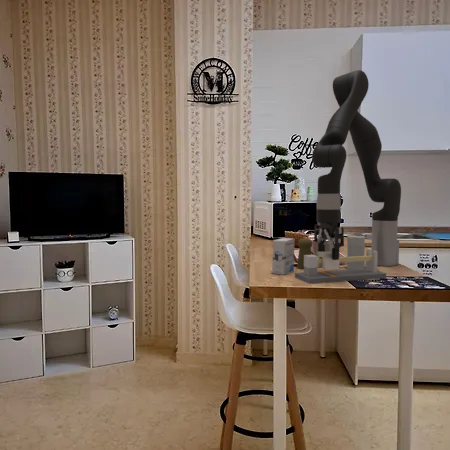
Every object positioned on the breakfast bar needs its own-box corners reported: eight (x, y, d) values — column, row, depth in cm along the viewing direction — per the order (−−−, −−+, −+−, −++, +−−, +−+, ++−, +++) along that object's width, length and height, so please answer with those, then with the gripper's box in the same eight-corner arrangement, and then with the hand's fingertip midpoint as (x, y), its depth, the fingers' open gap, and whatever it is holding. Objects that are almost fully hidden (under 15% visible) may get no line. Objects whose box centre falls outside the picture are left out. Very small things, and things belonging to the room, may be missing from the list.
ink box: (281, 269, 151) (282, 237, 150) (294, 271, 148) (295, 238, 147) (271, 273, 143) (271, 240, 142) (285, 275, 141) (285, 240, 140)
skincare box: (364, 268, 153) (365, 236, 152) (364, 270, 149) (365, 237, 148) (347, 267, 155) (347, 235, 154) (346, 269, 151) (347, 236, 150)
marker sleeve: (329, 265, 138) (329, 250, 138) (339, 268, 132) (339, 253, 132) (315, 266, 137) (315, 251, 136) (325, 269, 131) (325, 254, 131)
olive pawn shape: (313, 269, 150) (313, 239, 149) (296, 269, 151) (296, 239, 150) (313, 266, 156) (313, 238, 155) (296, 266, 157) (297, 237, 156)
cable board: (367, 272, 145) (367, 248, 144) (386, 278, 136) (386, 252, 135) (295, 277, 137) (295, 251, 136) (309, 283, 128) (309, 256, 127)
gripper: (351, 208, 127) (350, 260, 129) (327, 206, 141) (326, 253, 142) (330, 209, 125) (329, 262, 126) (307, 207, 139) (307, 255, 140)
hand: (328, 257), depth 134 cm, fingers open, 8 cm apart
